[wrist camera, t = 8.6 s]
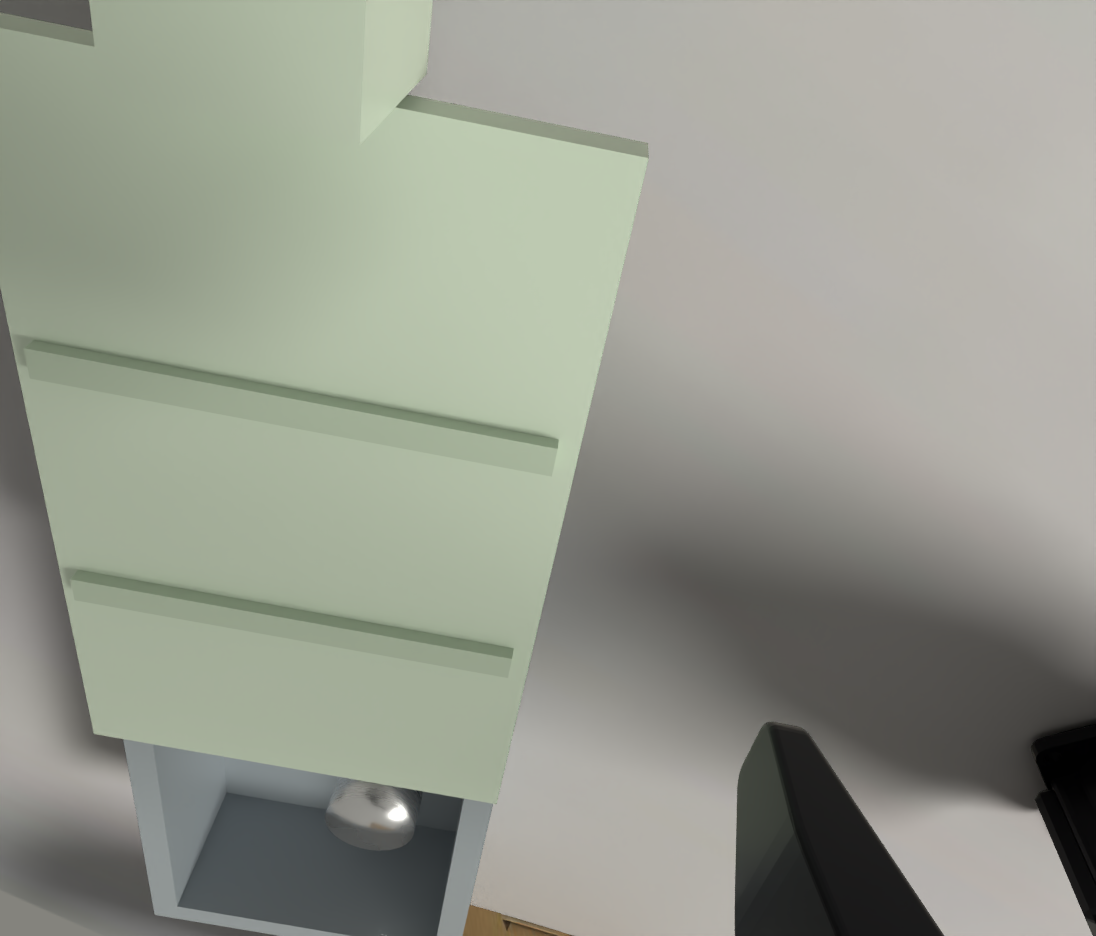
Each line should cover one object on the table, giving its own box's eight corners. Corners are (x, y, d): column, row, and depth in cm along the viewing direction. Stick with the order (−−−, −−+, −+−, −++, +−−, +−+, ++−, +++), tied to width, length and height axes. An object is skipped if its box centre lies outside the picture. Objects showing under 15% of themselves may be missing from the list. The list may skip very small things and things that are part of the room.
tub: (180, 434, 23) (88, 552, 19) (549, 503, 24) (532, 633, 20) (212, 787, 33) (154, 914, 29) (476, 833, 33) (455, 965, 29)
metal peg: (399, 713, 28) (378, 788, 26) (447, 762, 30) (431, 838, 27) (332, 736, 29) (306, 810, 27) (381, 782, 31) (361, 858, 28)
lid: (-48, -289, 11) (-325, -346, 8) (707, -129, 12) (736, -122, 8) (120, 689, 22) (34, 831, 19) (503, 756, 23) (481, 906, 20)
